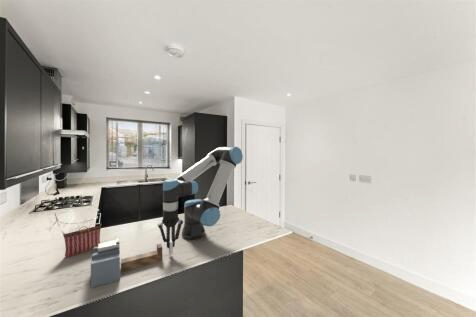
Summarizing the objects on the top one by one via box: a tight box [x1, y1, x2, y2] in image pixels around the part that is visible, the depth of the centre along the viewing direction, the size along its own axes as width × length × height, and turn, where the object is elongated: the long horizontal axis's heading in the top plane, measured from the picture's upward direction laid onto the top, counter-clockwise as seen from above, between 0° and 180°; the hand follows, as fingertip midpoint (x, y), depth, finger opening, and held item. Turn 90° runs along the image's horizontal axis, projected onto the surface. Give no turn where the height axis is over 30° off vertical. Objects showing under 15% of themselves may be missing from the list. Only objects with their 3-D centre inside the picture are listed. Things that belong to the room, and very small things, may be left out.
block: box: [90, 244, 121, 289], centre depth 88 cm, size 10×16×12 cm, turn 32°
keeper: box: [98, 237, 121, 253], centre depth 88 cm, size 8×5×4 cm, turn 122°
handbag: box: [52, 213, 102, 259], centre depth 103 cm, size 7×21×25 cm, turn 141°
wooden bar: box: [120, 243, 163, 273], centre depth 95 cm, size 18×4×7 cm, turn 122°
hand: (170, 253), depth 102 cm, fingers closed
